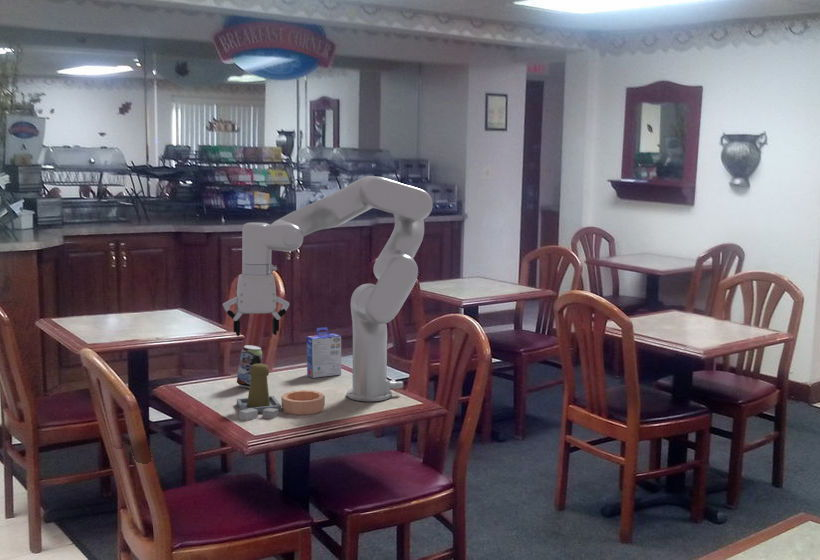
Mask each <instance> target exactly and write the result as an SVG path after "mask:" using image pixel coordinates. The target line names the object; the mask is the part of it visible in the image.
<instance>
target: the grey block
mask: <svg viewBox="0 0 820 560" xmlns="http://www.w3.org/2000/svg"><path fill="white" fill-rule="evenodd" d="M279 415H280V412H279V409H274V408H266V409H264V410H263V413H262V418H265V419H272V418H273V419H275V418H278V417H279ZM277 416H278V417H277Z"/></svg>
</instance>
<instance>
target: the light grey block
mask: <svg viewBox="0 0 820 560" xmlns="http://www.w3.org/2000/svg"><path fill="white" fill-rule="evenodd" d="M241 418H242V419H241ZM258 418H259V413H258V410H256V409H253V408H248V409H244V410H240V409H239V419H241V420H243V419H244V421H246V420H247V421H249V420H250V419H251V420H254V419H258Z"/></svg>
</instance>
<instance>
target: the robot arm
mask: <svg viewBox="0 0 820 560" xmlns="http://www.w3.org/2000/svg"><path fill="white" fill-rule="evenodd" d="M433 208H434V207H433V198H432V197H431V195H430V194H429V193H428V192H427V191H426V190H424V189H421V188H418V187H415V186H412V185H408V184H404V183H401V182H398V181H396V180H392V179H390V178H387V177H383V176H375V175H367V176H363V177H361V178H359V179H356V180H355V181H353V182H352V183H350V184H348V185H346V186H344V187H341V188H340V189H338V190H336V191H335V192H332V193H331V194H329V195H326V196H324V197H323V198H320V199H317V200H315V201H314V202H311V203H310V204H307V205H305V206H303V207H300V208H297V209H295V210H293V211H291V212H289V213H288V214H286V215H284V216H282V217H280V218H278V219H277V220H275V221H273V222H272V223H271V224H269V223H267V222H246V223H244V224H243V226H242V235H241V237H242V238H241V239H242V240H241V241H242V244H241V245H242V246H241V248H242V249H241V251H242V257H241V259H242V260H241V262H242V263H241V266H242V267H241V270H242V271H241V274H239V275H238V279H237V284H236V296H235V297H232V298H231V299H229V300H226V301H225V302H223V303H222V307H223V308H224V311H225V312H226V314H227V315H228V316H229V317H230V318H231V319H232V320H233V333H235V335H236V336H237V337H240V335H241V321H240V318H241V317H242V315H243V314H245V315H246V314H249V315H250V314H251V315H252V314H271V315H272V316H273V318H272V319H271V320H272V321H271V322H272V324H271V325H272V326H271V327H272V328H271V329H272V330H271V331H272V332H271V333H272V334H273V335H275V336H277V335H278V334H277V333H278V332H280V320H281V318H283V316H284V315H286V313H287V311H288V309H289V307H290V302H289V301H287V300H285V299H283V298H282V297H279V296H277V290H276V282H275V275H274V274H273V272H275V271H277V270H278V266H277V265H274V264H272V251H280V252H287V253H290V252H294V251H296V250H298V249H299V248H300V247H301V246H302V244H303V242H304V237H305V236H307V235H310V234H313V233H315V232H318V231H321V230H327V229H328V230H329V229H333V228H336V227H338V226H342V225H344V224H345V223H347V222H349V221H350V220H352V219H355V218H356V217H358V216H360V215H361V214H364V213H366V212H367V211H369V210H371V209H377V210H380V211H383V212H386V213H390V214H391V215H392V214H393V216H394V227H393V230H392V233H391V235H390V237H389V239H388V240H387V242H386V243H385V245H384V247H383V248H382V251H380V253H379V255H378V257H377V258H376V260H375V262H374V264H373V274H374V277H375V278H376V279H377V281H376V284H374V283H364V284H361V285H359V286H358V287H356V288H355V290H354V291H353V292H352V295H351V298H350V312H351V321H352V388H350V389H348V390H346V397H347V398H349V399H351V400H352V401H358V402H369V403H370V402H372V403H373V402H380V401H387V400H388V399H390V398H392V397H393V392H392V391H393V389H403V388H404V382H403V381H401V380H399V381H396V380H395V379H394V380H389V379H388V378H387V370H388V369H387V366H388V362H387V361H388V355H387V354H388V353H387V352H388V327H387V326H388V325H387V323H390V322H392V320H394V319H395V318H396V316H397V315H398V313H399V312H400V310H401V308H402V307H403V306H404V303H405V302H406V300H407V298H409V295H410V293H411V291H413V288H414V286H415V284H416V283H417V280H418V275H419V267H418V263H416V261H415V259H414V258H415V256H416V254H417V252H418V250H419V248H420V246H421V244H422V242H423V239H424V236H425V221H424V219H426V218H427V217H428V216H430V215H431V213H432V210H433ZM277 303H278V304H281V305H282V306H281V308H280V310H278V312H277ZM232 305H236V306H235V307H236V311H235V312H233V311H232V309H231V306H232Z"/></svg>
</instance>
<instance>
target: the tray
mask: <svg viewBox="0 0 820 560" xmlns="http://www.w3.org/2000/svg"><path fill="white" fill-rule="evenodd" d="M247 401H248V397H244V398H243V397H242V398H236V406H237V408H238V409H239V411H240V410H244V409H248V408H253V409H256V410H258V414H263V410H264V409H266V408H274V409H279V411H280V412H282V404H280V402H279V401H278V400H277V398H276V397H275V396H274V395H269V402H270V406H263V407H249V406H247Z"/></svg>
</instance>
